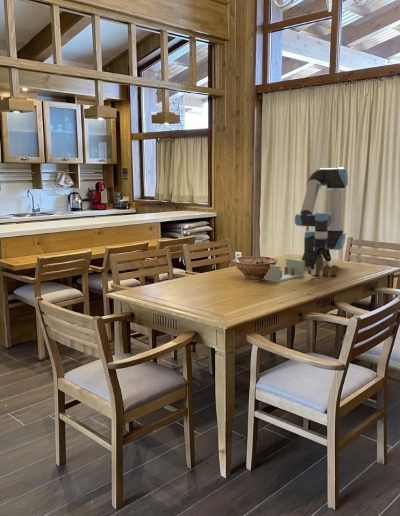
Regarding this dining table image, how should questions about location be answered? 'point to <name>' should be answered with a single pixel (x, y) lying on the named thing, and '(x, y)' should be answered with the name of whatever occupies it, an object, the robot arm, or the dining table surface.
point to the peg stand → (286, 271)
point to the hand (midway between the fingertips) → (319, 273)
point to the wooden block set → (325, 268)
